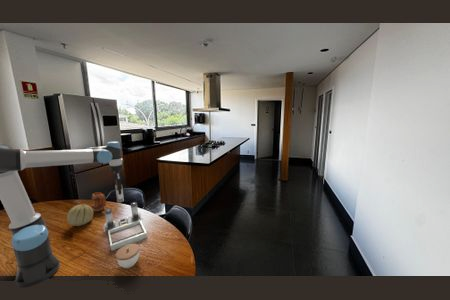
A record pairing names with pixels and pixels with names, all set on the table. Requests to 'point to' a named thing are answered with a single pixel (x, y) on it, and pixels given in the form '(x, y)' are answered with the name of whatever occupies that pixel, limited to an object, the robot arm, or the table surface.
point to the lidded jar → (128, 255)
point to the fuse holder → (122, 222)
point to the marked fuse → (117, 196)
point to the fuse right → (134, 210)
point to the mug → (98, 201)
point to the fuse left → (109, 217)
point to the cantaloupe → (80, 215)
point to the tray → (129, 239)
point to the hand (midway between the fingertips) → (120, 196)
